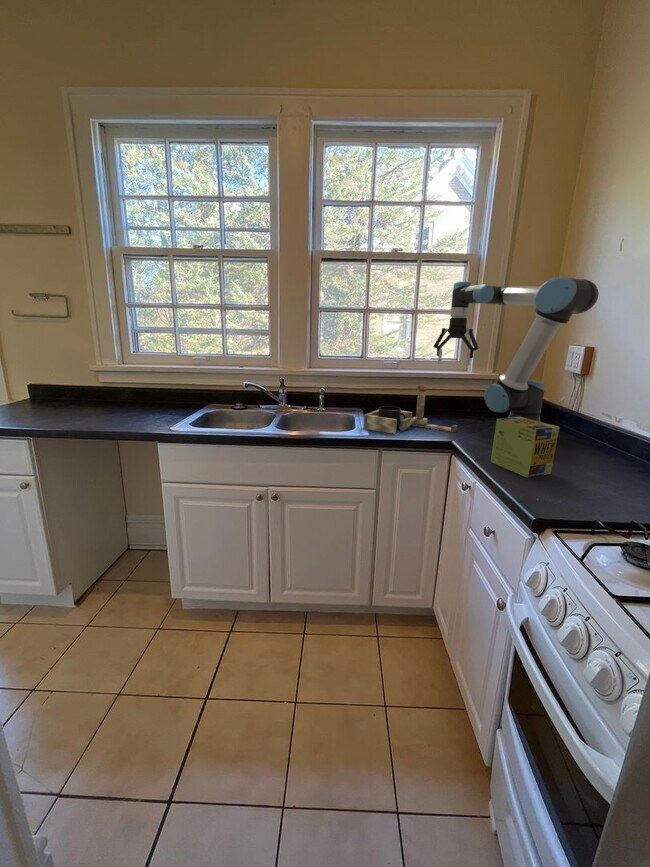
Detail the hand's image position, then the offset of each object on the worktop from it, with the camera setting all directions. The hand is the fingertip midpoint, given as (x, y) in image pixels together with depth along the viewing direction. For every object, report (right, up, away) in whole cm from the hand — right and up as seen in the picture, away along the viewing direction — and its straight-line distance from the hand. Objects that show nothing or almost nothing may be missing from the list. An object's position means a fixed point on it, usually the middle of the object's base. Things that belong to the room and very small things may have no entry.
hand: (453, 364), depth 187 cm
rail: (-15, -30, -9) cm, 34 cm away
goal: (-32, -30, -10) cm, 45 cm away
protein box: (+3, -44, -57) cm, 72 cm away
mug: (-32, -31, -12) cm, 45 cm away
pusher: (-21, -30, -11) cm, 39 cm away
